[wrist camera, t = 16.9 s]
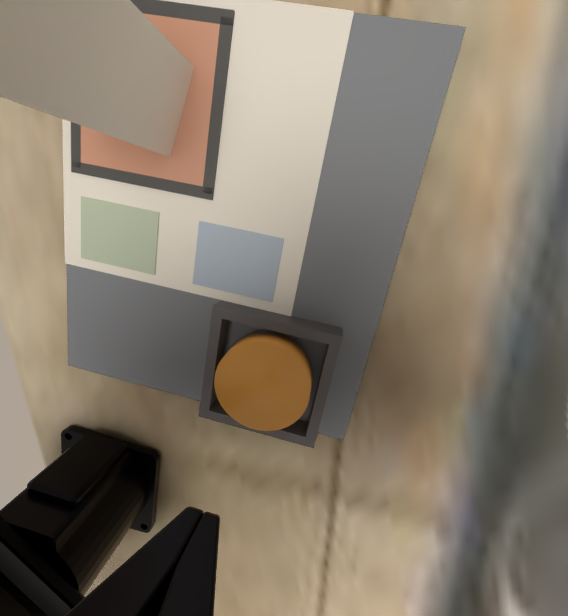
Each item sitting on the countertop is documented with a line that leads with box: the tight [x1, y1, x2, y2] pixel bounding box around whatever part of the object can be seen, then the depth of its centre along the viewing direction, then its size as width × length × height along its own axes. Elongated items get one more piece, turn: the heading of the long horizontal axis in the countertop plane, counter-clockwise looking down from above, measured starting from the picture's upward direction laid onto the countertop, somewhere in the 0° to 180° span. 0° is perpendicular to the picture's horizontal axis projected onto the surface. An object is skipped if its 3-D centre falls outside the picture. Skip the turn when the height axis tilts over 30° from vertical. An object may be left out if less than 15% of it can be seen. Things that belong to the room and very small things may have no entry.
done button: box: [214, 330, 313, 431], centre depth 15 cm, size 4×4×2 cm
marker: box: [0, 0, 194, 157], centre depth 8 cm, size 4×4×12 cm
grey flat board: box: [63, 0, 466, 448], centre depth 15 cm, size 18×16×2 cm
